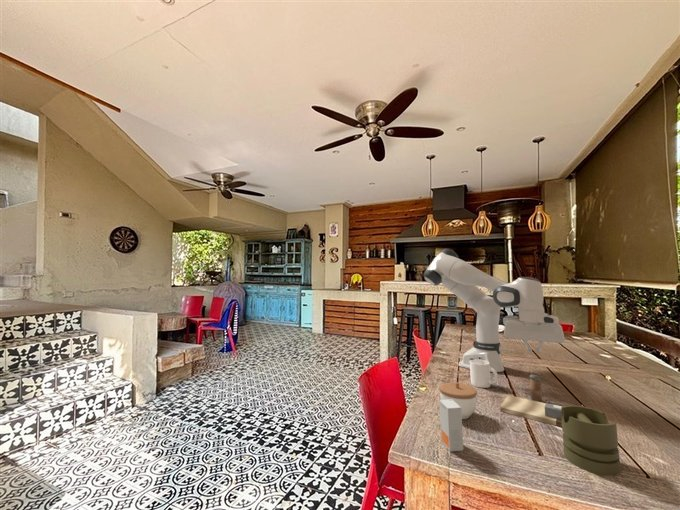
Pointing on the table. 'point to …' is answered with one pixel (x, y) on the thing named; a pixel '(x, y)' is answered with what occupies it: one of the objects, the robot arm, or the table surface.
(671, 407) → the table surface
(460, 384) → the lidded bowl
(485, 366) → the mug
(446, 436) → the skincare box
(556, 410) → the block
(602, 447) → the piston
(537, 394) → the peg
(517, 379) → the table surface
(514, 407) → the plank
